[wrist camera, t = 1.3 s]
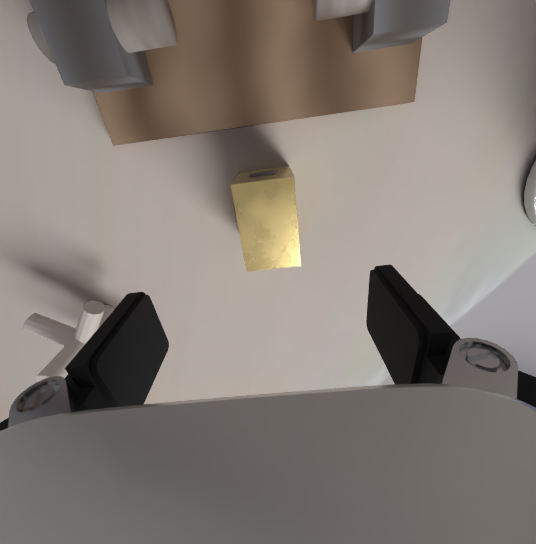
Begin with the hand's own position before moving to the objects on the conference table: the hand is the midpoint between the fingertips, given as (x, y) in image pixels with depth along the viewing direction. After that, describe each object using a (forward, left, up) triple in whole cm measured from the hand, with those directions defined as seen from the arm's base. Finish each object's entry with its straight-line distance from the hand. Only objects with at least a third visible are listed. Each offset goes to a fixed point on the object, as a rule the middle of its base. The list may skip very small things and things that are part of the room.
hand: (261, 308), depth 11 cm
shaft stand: (0, -13, -16) cm, 21 cm away
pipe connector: (+20, +10, -16) cm, 28 cm away
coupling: (0, 0, -16) cm, 16 cm away
